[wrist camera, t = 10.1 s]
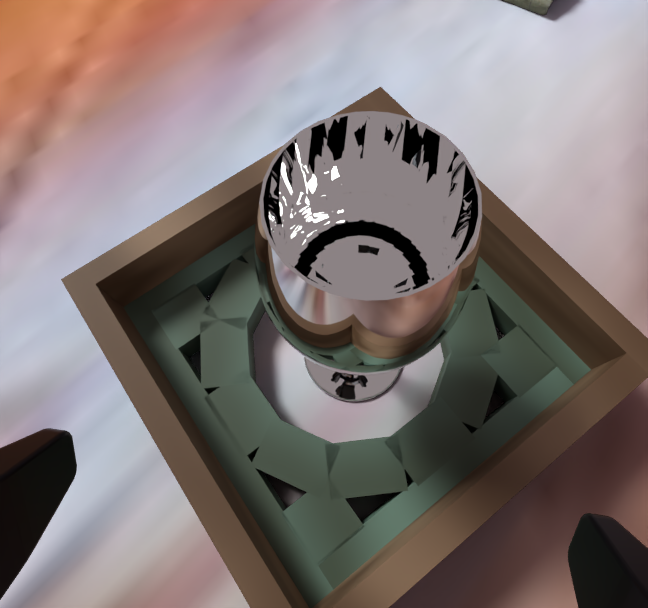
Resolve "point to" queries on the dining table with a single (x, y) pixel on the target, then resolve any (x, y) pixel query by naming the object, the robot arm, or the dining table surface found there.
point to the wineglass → (366, 246)
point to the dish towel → (533, 5)
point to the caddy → (363, 455)
